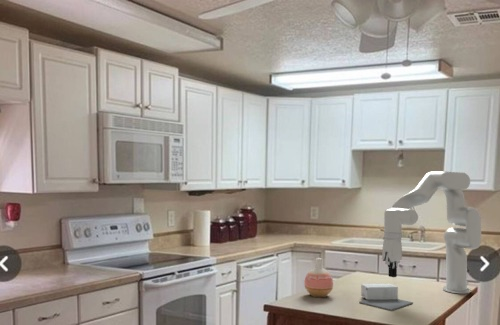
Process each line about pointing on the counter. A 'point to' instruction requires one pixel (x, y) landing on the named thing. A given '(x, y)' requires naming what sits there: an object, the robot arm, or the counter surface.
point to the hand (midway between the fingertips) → (392, 276)
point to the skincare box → (379, 291)
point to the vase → (318, 281)
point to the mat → (387, 304)
